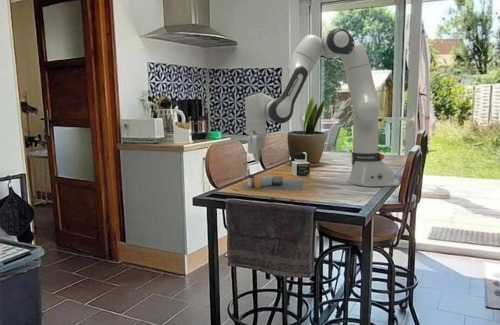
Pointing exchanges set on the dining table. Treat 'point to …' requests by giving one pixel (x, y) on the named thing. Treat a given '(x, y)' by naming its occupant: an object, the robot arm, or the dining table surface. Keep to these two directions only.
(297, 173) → the medicine bottle
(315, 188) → the dining table surface
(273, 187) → the base plate
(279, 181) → the crank
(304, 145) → the potted plant
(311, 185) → the dining table surface
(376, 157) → the robot arm
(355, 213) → the dining table surface
